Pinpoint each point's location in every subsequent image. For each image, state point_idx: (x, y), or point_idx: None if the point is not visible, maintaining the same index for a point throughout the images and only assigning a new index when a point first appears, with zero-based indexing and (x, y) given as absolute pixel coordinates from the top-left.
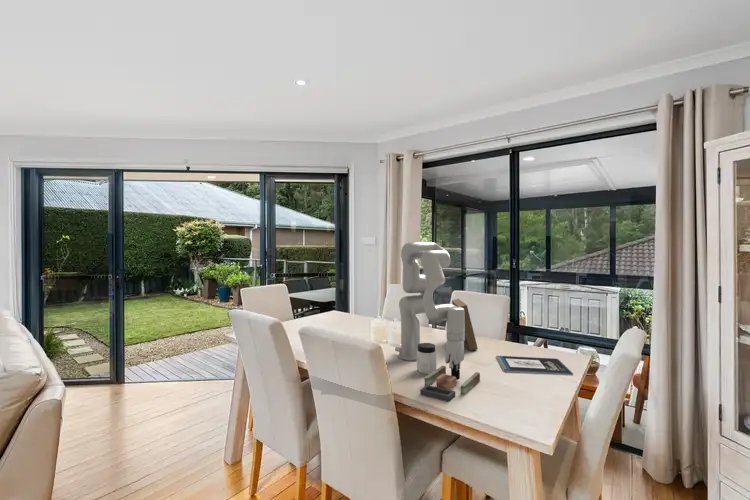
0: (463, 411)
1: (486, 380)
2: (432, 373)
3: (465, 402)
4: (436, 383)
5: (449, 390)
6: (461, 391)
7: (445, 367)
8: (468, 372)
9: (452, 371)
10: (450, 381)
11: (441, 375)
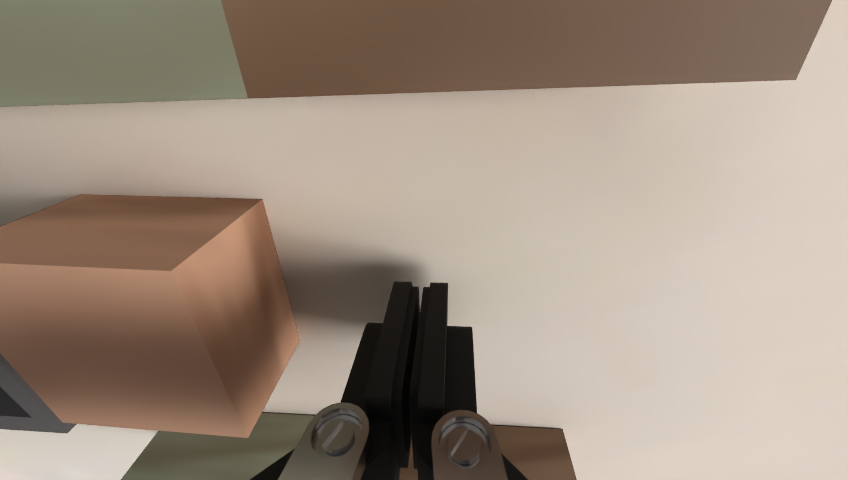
0: (11, 460)
1: (594, 477)
2: (4, 38)
3: (106, 448)
4: (27, 217)
5: (24, 400)
6: (160, 437)
7: (750, 77)
8: (832, 328)
9: (345, 395)
10: (87, 415)
11: (92, 280)
